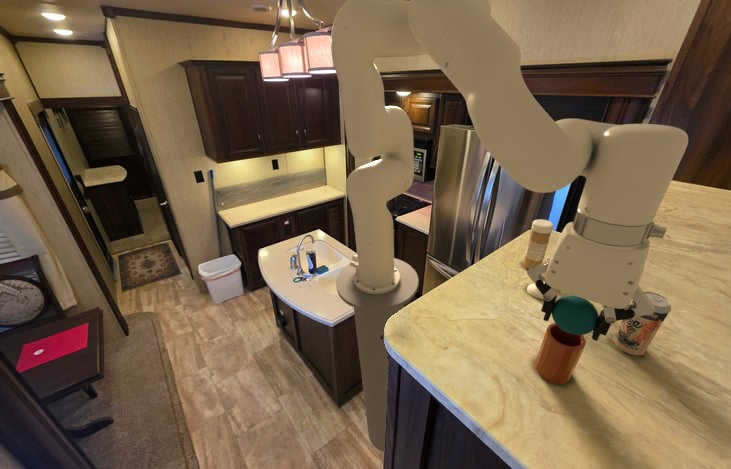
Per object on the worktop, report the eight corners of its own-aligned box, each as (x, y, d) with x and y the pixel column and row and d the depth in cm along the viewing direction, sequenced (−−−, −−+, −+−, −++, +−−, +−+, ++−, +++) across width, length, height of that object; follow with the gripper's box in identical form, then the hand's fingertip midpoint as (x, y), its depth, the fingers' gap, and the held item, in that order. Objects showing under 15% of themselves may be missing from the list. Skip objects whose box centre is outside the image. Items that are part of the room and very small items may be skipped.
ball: (543, 331, 47) (552, 303, 44) (552, 310, 50) (560, 283, 47) (588, 350, 43) (601, 321, 40) (594, 325, 47) (606, 297, 44)
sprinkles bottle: (529, 259, 81) (540, 217, 74) (545, 268, 77) (558, 223, 71) (518, 265, 79) (529, 221, 73) (533, 273, 76) (546, 228, 69)
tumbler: (531, 372, 52) (543, 337, 47) (539, 352, 55) (551, 318, 51) (566, 390, 49) (582, 354, 44) (572, 367, 52) (588, 332, 48)
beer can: (605, 340, 56) (629, 294, 51) (623, 333, 58) (648, 286, 52) (632, 360, 52) (661, 312, 47) (650, 352, 54) (681, 304, 48)
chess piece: (550, 288, 70) (560, 254, 66) (550, 301, 67) (562, 266, 62) (527, 283, 73) (536, 250, 68) (526, 295, 69) (536, 261, 64)
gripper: (700, 231, 35) (642, 335, 44) (541, 202, 45) (519, 291, 54) (708, 260, 30) (640, 370, 39) (528, 220, 40) (506, 315, 49)
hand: (570, 324), depth 46 cm, fingers closed on ball, 5 cm apart
